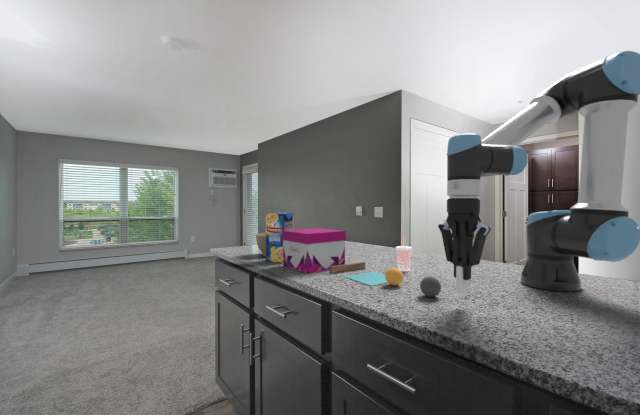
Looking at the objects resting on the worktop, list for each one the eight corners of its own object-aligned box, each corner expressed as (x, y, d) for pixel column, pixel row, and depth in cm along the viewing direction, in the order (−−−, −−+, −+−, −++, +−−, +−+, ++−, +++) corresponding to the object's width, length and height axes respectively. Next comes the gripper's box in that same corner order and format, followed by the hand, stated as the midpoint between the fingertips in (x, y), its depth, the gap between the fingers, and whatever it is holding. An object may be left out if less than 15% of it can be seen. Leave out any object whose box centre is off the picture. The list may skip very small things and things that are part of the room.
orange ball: (406, 285, 96) (406, 268, 96) (394, 288, 93) (394, 270, 93) (394, 282, 101) (394, 265, 101) (381, 284, 98) (381, 267, 98)
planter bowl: (250, 257, 149) (250, 235, 149) (262, 252, 165) (262, 232, 165) (282, 258, 146) (282, 235, 146) (291, 253, 162) (291, 232, 162)
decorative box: (282, 266, 129) (282, 230, 129) (318, 260, 140) (318, 228, 140) (307, 274, 114) (307, 233, 114) (345, 267, 125) (345, 230, 125)
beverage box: (284, 263, 134) (284, 213, 133) (265, 261, 140) (265, 213, 139) (294, 261, 139) (293, 212, 139) (275, 258, 145) (275, 212, 145)
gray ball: (445, 297, 84) (445, 277, 84) (432, 300, 81) (432, 280, 81) (429, 292, 89) (428, 273, 89) (415, 295, 86) (415, 276, 86)
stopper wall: (365, 268, 122) (365, 262, 122) (331, 273, 114) (331, 267, 114) (363, 268, 123) (363, 262, 123) (330, 273, 115) (329, 266, 115)
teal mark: (402, 280, 103) (402, 279, 103) (370, 286, 96) (370, 285, 96) (375, 272, 115) (375, 271, 115) (344, 277, 108) (344, 276, 108)
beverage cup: (405, 272, 115) (405, 235, 114) (392, 269, 119) (392, 234, 119) (415, 270, 118) (415, 234, 118) (402, 267, 123) (401, 233, 123)
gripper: (431, 197, 80) (430, 287, 80) (479, 196, 69) (478, 301, 69) (449, 198, 84) (448, 284, 84) (498, 197, 73) (496, 296, 73)
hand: (462, 291), depth 76 cm, fingers closed
